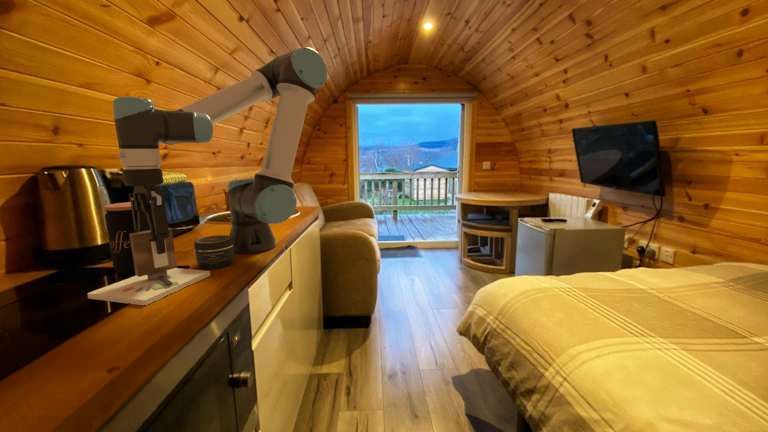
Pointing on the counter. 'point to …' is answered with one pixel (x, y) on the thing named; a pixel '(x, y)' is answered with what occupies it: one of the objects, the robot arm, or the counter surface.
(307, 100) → the robot arm
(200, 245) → the jar
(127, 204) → the coffee jar
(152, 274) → the brown upright panel
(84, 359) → the counter surface
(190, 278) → the plate
